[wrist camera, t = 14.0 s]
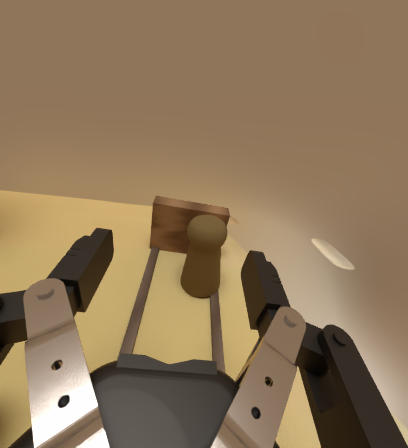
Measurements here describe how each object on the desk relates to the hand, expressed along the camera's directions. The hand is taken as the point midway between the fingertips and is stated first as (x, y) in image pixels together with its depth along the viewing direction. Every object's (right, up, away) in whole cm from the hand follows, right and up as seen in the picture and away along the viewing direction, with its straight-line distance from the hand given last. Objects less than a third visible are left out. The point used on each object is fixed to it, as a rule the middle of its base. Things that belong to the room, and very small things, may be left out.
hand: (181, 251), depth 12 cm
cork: (+1, -7, +20) cm, 21 cm away
